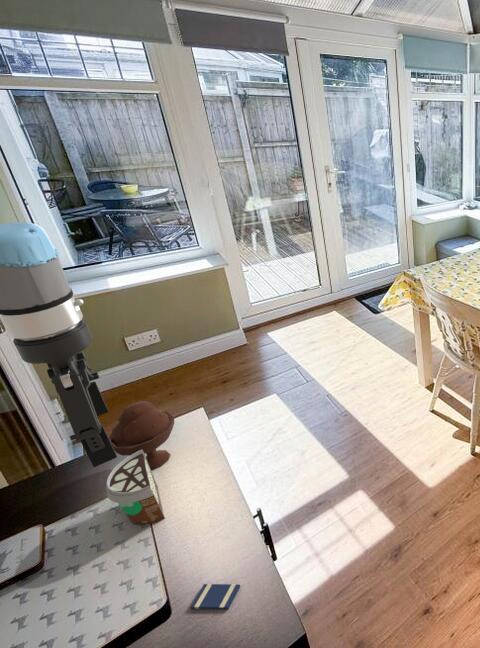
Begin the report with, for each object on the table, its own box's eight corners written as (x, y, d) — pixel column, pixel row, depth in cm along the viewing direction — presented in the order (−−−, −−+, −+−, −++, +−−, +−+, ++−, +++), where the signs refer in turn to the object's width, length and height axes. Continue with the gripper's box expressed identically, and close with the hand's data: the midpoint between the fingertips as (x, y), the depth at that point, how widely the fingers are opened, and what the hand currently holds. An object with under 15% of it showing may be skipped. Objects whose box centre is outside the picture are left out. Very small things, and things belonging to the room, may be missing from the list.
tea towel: (191, 609, 67) (190, 606, 67) (204, 585, 70) (203, 583, 70) (228, 609, 67) (227, 607, 67) (240, 586, 70) (239, 584, 70)
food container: (118, 500, 83) (100, 464, 79) (156, 482, 87) (141, 447, 83) (124, 545, 75) (104, 508, 71) (166, 523, 79) (150, 487, 75)
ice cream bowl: (109, 476, 88) (83, 422, 82) (160, 437, 98) (140, 387, 92) (148, 487, 86) (124, 434, 80) (196, 446, 96) (178, 396, 90)
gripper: (90, 355, 55) (141, 469, 63) (80, 291, 71) (122, 389, 79) (5, 380, 50) (73, 500, 58) (15, 305, 66) (67, 408, 74)
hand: (101, 436), depth 69 cm, fingers open, 13 cm apart
